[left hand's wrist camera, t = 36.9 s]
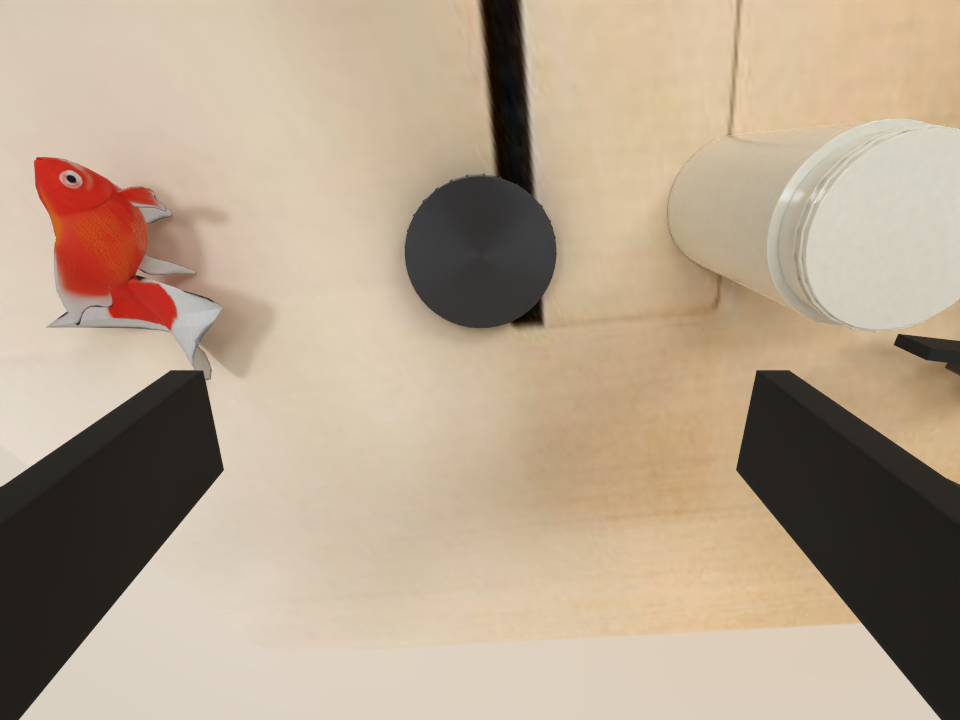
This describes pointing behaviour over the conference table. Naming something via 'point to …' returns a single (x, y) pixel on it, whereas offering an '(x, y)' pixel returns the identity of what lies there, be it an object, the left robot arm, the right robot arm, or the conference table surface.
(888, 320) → the jar
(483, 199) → the lid
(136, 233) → the fish
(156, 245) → the conference table surface
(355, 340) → the conference table surface
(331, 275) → the conference table surface
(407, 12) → the conference table surface
